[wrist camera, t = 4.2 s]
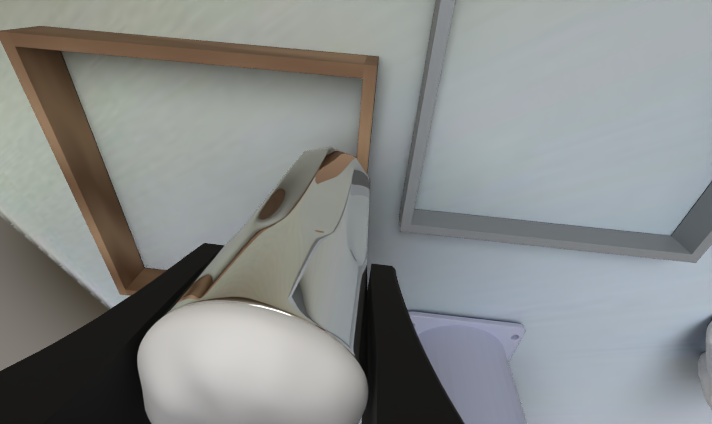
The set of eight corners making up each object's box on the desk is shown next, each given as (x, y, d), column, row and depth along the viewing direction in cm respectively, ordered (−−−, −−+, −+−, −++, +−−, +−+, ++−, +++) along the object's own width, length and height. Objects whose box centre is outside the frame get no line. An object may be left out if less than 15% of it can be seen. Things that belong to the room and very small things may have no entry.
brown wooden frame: (355, 296, 23) (352, 321, 21) (139, 272, 23) (119, 294, 22) (378, 56, 14) (377, 65, 13) (39, 26, 15) (-5, 31, 13)
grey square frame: (675, 244, 18) (695, 263, 17) (399, 215, 19) (399, 231, 18) (981, -151, 10) (1065, -170, 9) (467, -185, 10) (478, -207, 9)
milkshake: (277, 236, 15) (131, 534, 7) (269, 121, 12) (-9, 418, 4) (377, 250, 15) (343, 575, 7) (395, 137, 12) (370, 486, 4)
